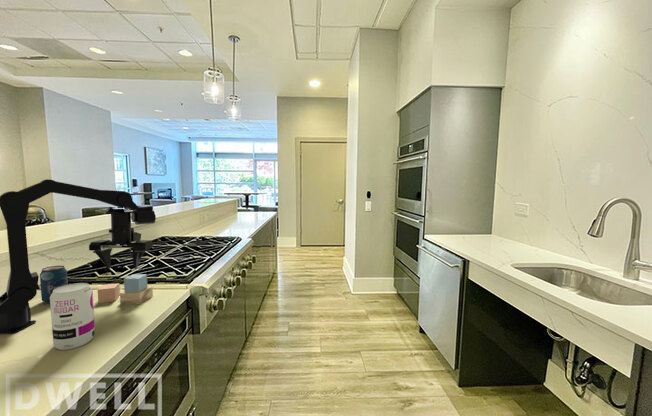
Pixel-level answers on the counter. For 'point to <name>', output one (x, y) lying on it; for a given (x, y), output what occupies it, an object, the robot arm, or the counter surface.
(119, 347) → the counter surface
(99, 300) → the terracotta cube
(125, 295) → the oak block
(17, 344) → the counter surface
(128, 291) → the slate cube
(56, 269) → the soda can
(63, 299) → the supplement can
